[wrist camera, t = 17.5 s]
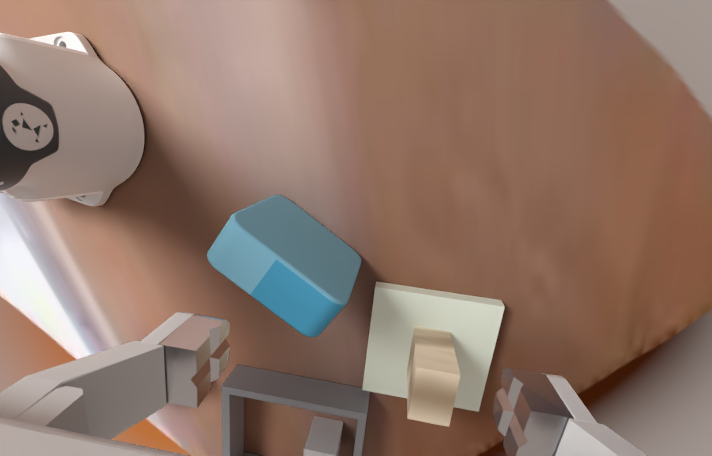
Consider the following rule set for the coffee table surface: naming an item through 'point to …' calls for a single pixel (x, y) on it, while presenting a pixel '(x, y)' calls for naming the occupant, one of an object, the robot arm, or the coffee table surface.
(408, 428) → the coffee table surface
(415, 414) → the birch box
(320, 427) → the grey box
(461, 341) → the board
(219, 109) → the coffee table surface
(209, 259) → the data package
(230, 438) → the bin
